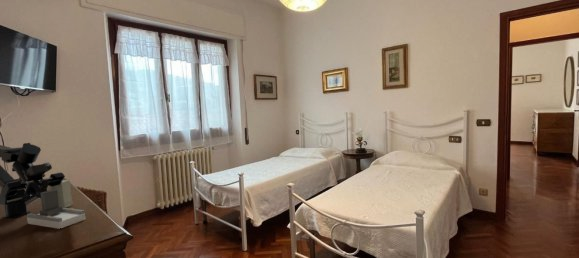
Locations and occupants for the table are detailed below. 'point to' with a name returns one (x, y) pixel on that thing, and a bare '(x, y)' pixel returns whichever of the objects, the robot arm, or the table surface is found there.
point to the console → (57, 218)
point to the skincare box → (64, 194)
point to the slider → (50, 203)
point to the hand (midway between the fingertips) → (46, 198)
